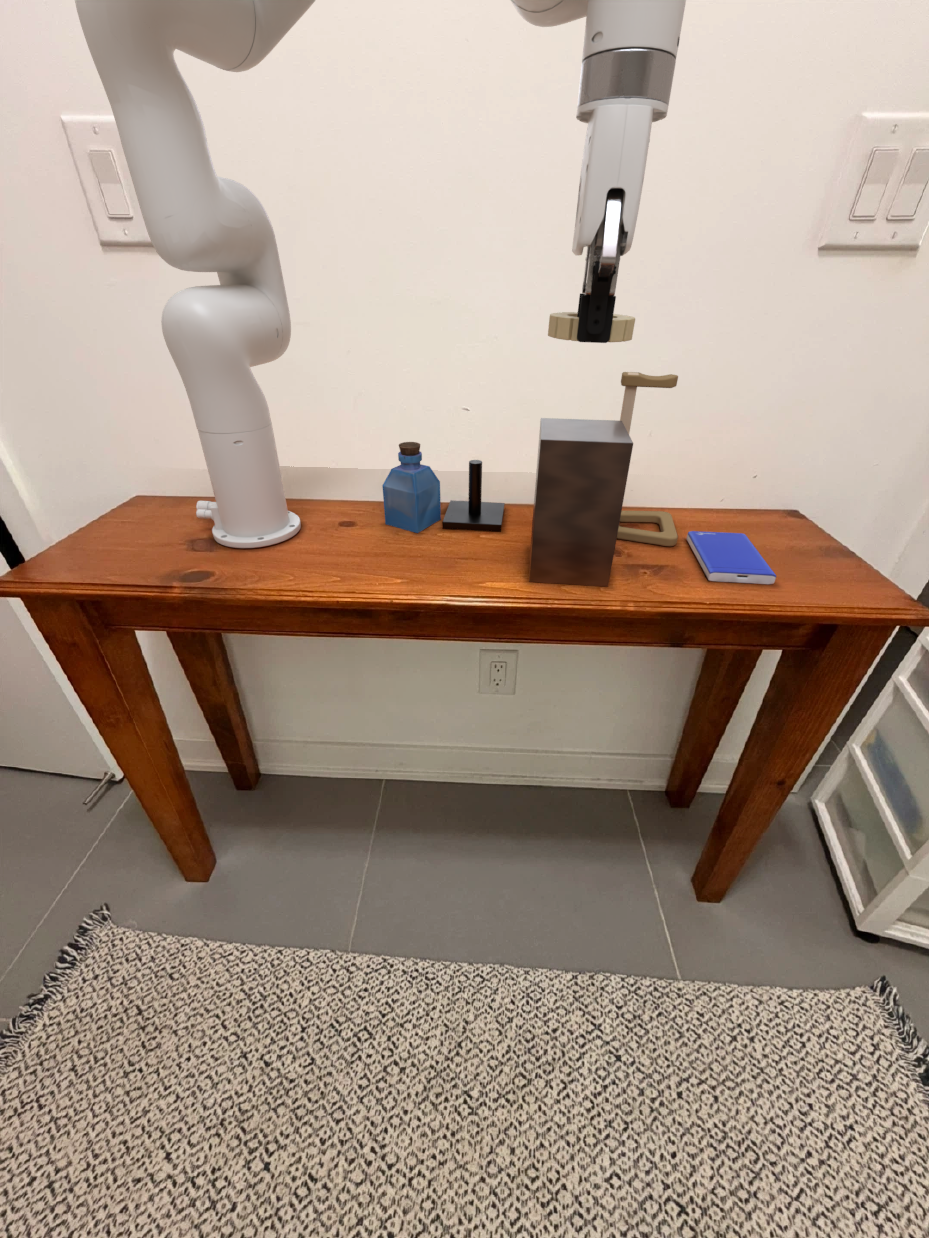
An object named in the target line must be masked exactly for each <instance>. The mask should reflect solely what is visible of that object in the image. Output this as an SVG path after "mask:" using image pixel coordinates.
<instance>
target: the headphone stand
mask: <svg viewBox="0 0 929 1238" xmlns="http://www.w3.org/2000/svg"><path fill="white" fill-rule="evenodd" d="M678 381H679V375H677V374H671V373H670V374H665V375H649V374H644V373H642V372H637V371H636V372H635V371H623V372H622V373H621V378H620V386H622V387H624V392H623V398H622V404H621V412H620V418H619V421H622V422H623V424H624V426H625V428H626V430H627V432H628V434H629V435H630V432H631V426H632V420H633V414H634V408H635V402H636V396H637V389H638V388H659V389H673V388H676V387H677V384H678ZM619 523H645V524H647V523H649V524H651V523H652V524H657V525H659V530H660V531H652V530H646V529H639V528H633V527H625V526H621V525H619V528H618V534H617V540H623V541H629V542H636V543H641V544H648V545H656V546H661V547H673V546H676V545H677V543H678V538H679V536H678V532H677V529H676V525H675V523H674V519H673V516H672V514H671V513H670V512H667V511H663V510H622V511H621V517H620V522H619Z"/></svg>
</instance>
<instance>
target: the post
mask: <svg viewBox="0 0 929 1238" xmlns="http://www.w3.org/2000/svg"><path fill="white" fill-rule="evenodd" d="M482 486H483V461H482V460H481V459H471V460H469V461H468V500H452V499H451V500H450V501H449V503H448V506H447V509H446V512H445V514H444V517H443V519H442V530H457V531H475V532H476V531H477V532H493V533H502V528H503V522H504V516H505V515H504V514H505V507H506V506H505V505H506V504H505V502H493V501H492V502H491V501H482V492H483V491H482V490H483V489H482Z"/></svg>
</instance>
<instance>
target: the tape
mask: <svg viewBox="0 0 929 1238" xmlns="http://www.w3.org/2000/svg"><path fill="white" fill-rule="evenodd" d="M577 314H578V311H577V312H575V311H562V312H561V311H560V312H559V311H558V312H551V313H550V314H549V318H548V330H547V336H548V337H550V338H553V339H556V340H562V341H572V342H579V341H578V340H577V331H578V322H579V317H577ZM635 323H636V317H635V316H631V315H627V314H626V315H625V314H618V313H617V314H616V313H613V320H612V327H611V333H610V339H609V341H608V342H607V343H622V342H623V343H624V342H625V343H626V342H629V341H632V340H633V335H634V331H635V330H634V328H635Z"/></svg>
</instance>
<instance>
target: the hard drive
mask: <svg viewBox="0 0 929 1238" xmlns="http://www.w3.org/2000/svg"><path fill="white" fill-rule="evenodd" d="M685 540H686V541H687V543H688V545H689V547H690V548H691V550H692V552H693V554H694V557H695V558H696V560H697V561H698V563H699V565H700V567H701V568H702V571H703V573H704V575H705V576H706V578H707V580H708V581H710V582H718V583H737V584H755V585H757V584H758V585H773V584H775V582H776V579H777V575H776V573H775V572H774V570H773V569H772V568H771V566H769V564H768V563H767V561H766V560H765V558H763V556H762V555H761V554H760V552H759V550H758V549H757V548H756V547H755V545H754V544H753V542H752V541H751V540H750V538H749V537H748V536H747V535H746V534H745V533H742V532H723V531H721V532H718V531H703V530H702V531H697V530H691V531H688V532H687V535H686V539H685Z"/></svg>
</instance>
